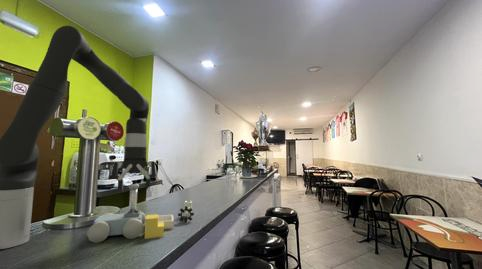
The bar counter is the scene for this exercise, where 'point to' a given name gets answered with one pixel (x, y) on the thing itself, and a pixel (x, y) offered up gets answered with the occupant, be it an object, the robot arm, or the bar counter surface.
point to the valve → (186, 211)
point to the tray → (167, 221)
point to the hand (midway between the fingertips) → (134, 189)
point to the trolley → (117, 226)
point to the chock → (153, 227)
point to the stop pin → (133, 198)
